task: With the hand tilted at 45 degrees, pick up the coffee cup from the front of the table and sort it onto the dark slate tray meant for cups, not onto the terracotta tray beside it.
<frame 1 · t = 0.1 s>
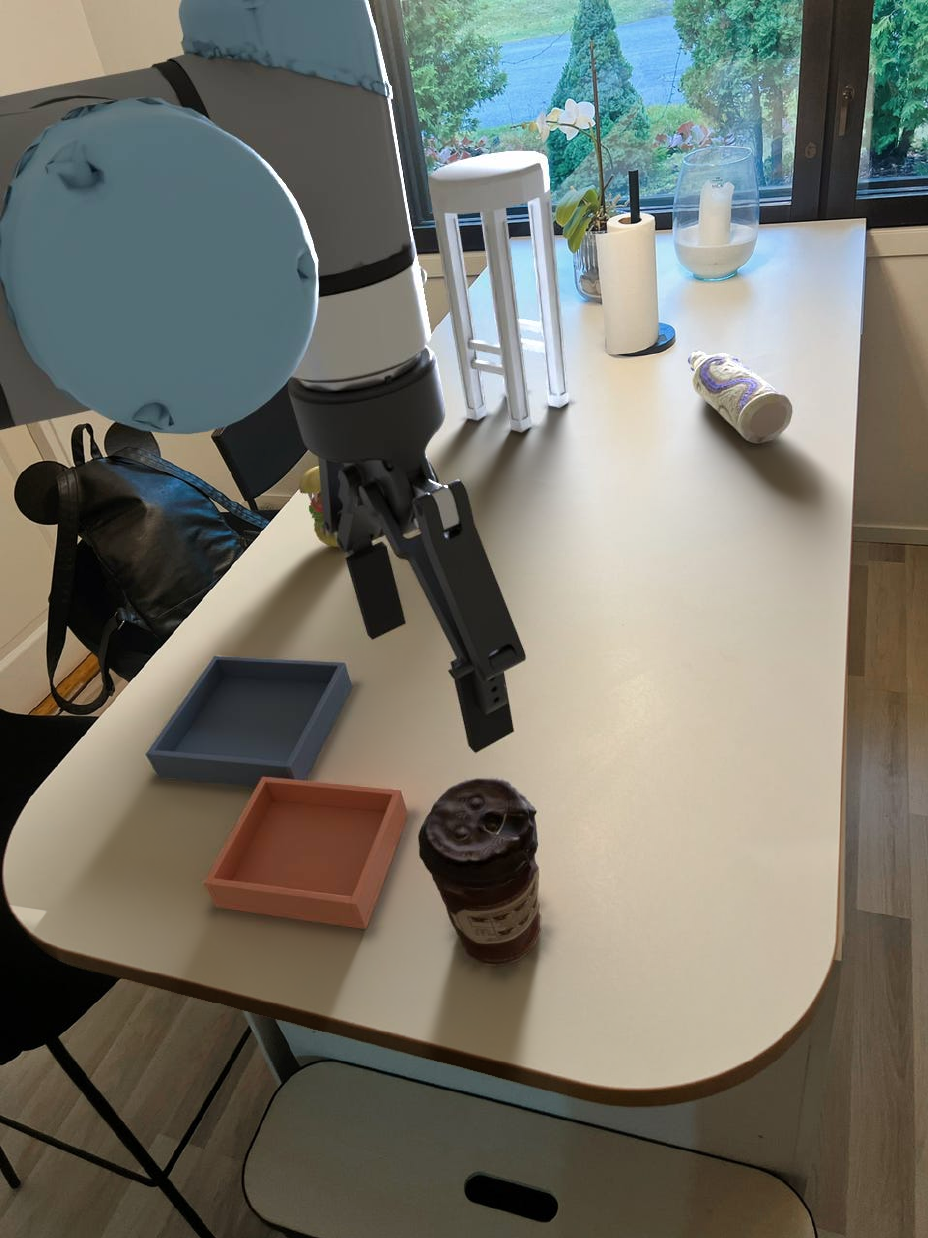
hand: (434, 679, 56), 22 cm above the table, tool pointing down, fingers open, 13 cm apart
stool: (518, 411, 136), on the table
slate tray: (258, 730, 87), on the table
hamburger: (344, 537, 114), on the table
terracotta tray: (315, 859, 73), on the table
decorative bottle: (735, 408, 126), on the table
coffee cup: (501, 931, 65), on the table
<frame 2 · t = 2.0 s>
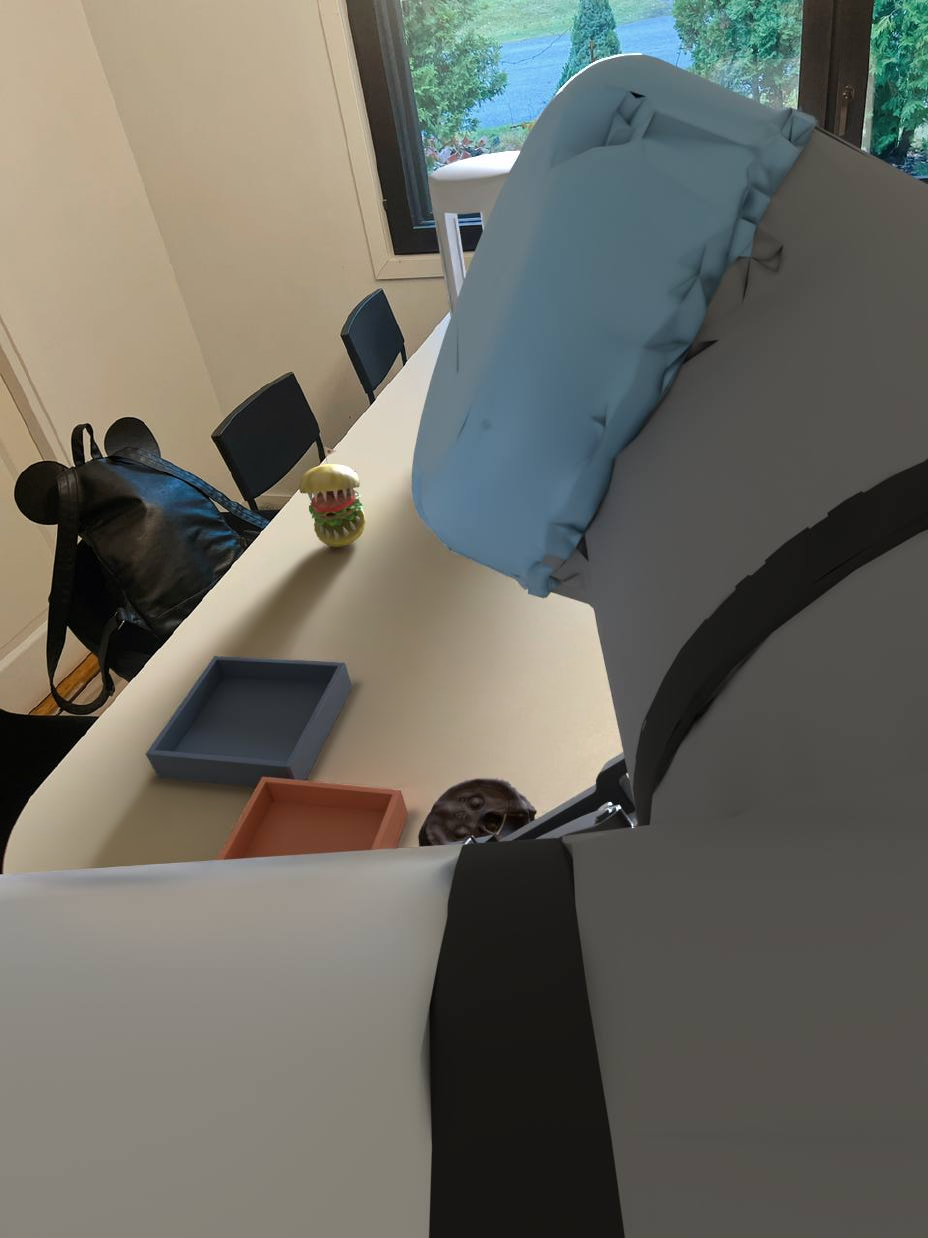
hand: (557, 788, 45), 24 cm above the table, tool tilted 45°, fingers open, 13 cm apart
nothing on the table moved.
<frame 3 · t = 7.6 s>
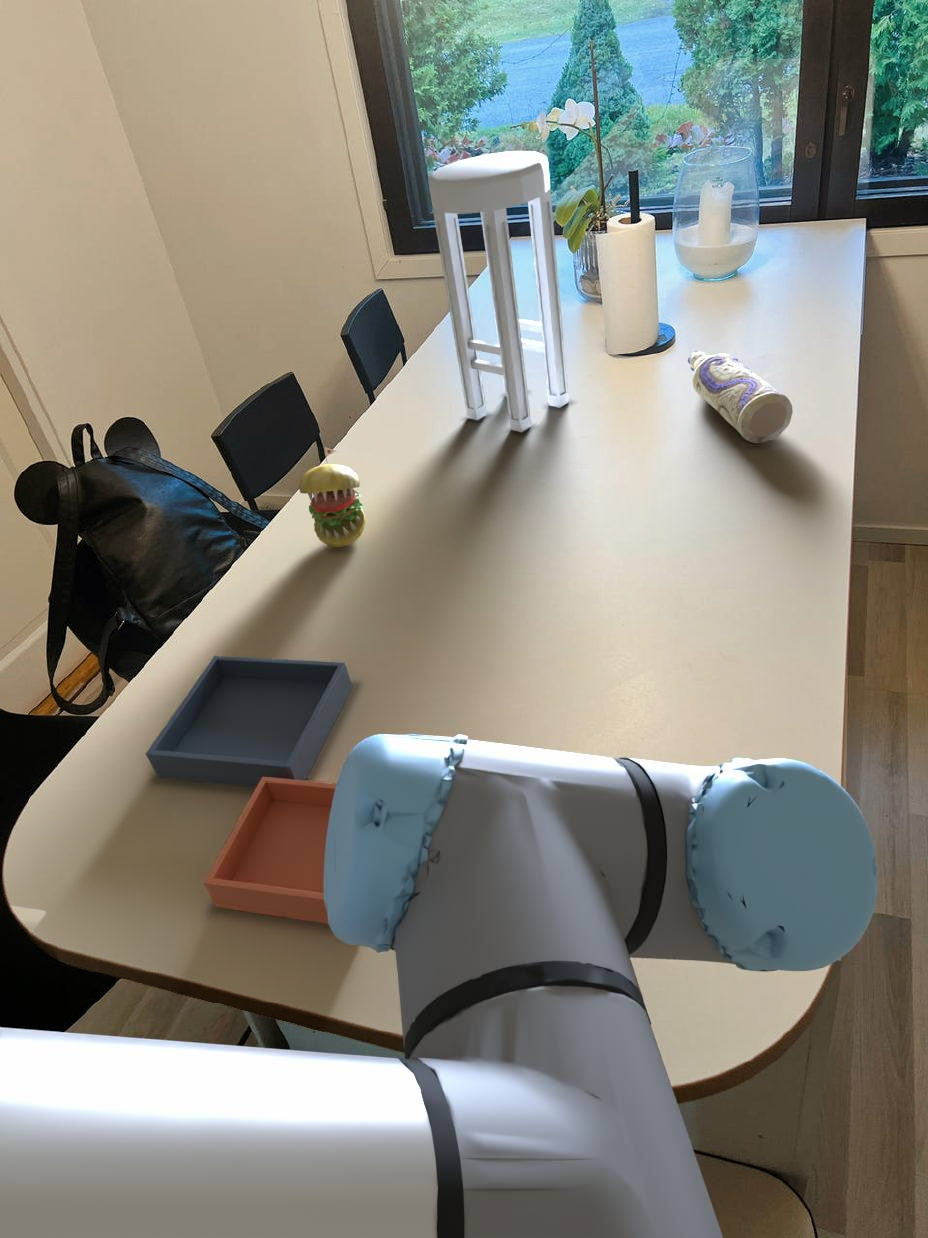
hand: (465, 866, 65), 4 cm above the table, tool tilted 45°, fingers closed on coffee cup, 8 cm apart
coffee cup: (501, 931, 65), on the table, touching gripper
everything else where it was.
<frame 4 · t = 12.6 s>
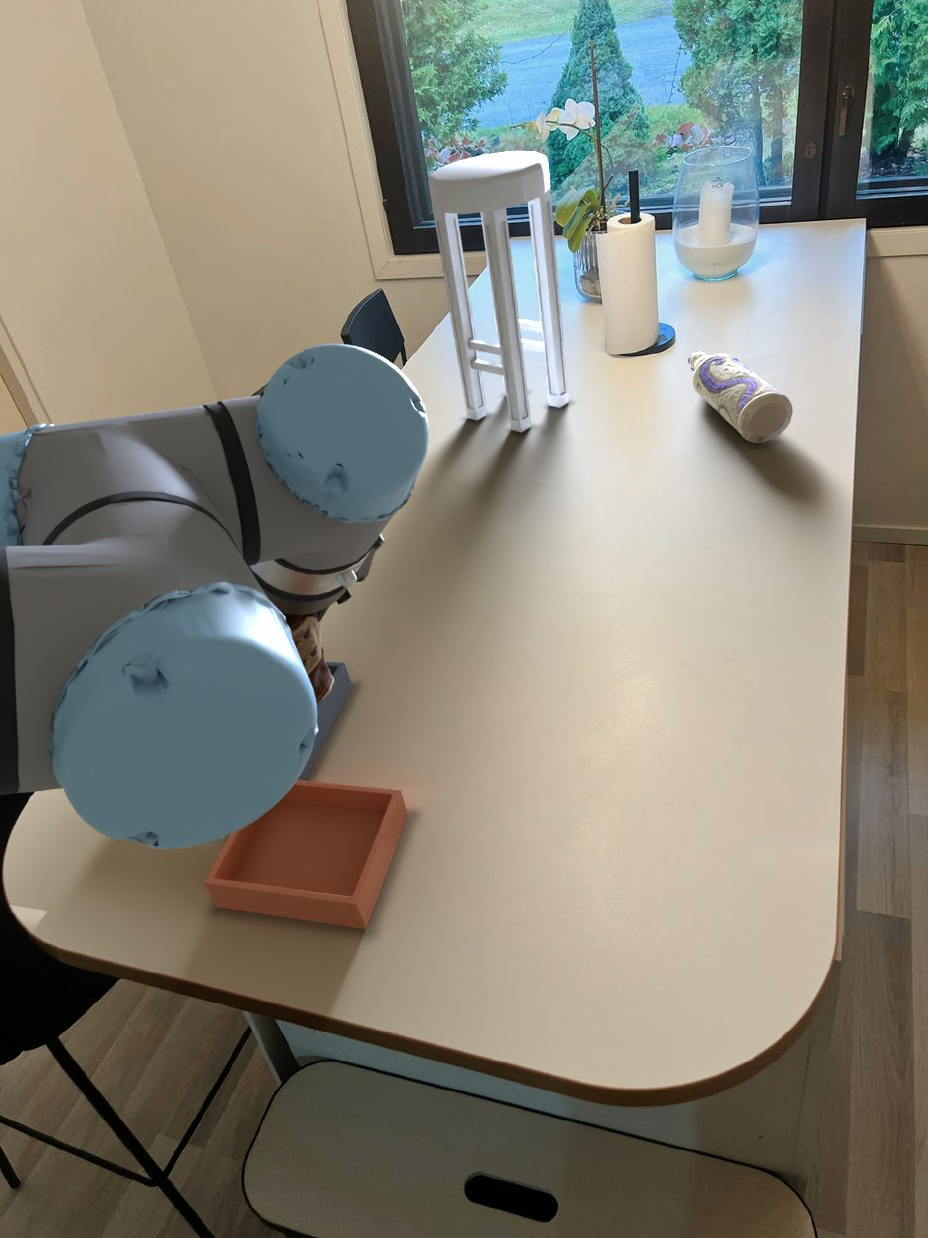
hand: (263, 633, 72), 17 cm above the table, tool tilted 45°, fingers closed on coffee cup, 8 cm apart
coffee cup: (297, 694, 72), point 12 cm above the table, touching gripper
everything else where it was.
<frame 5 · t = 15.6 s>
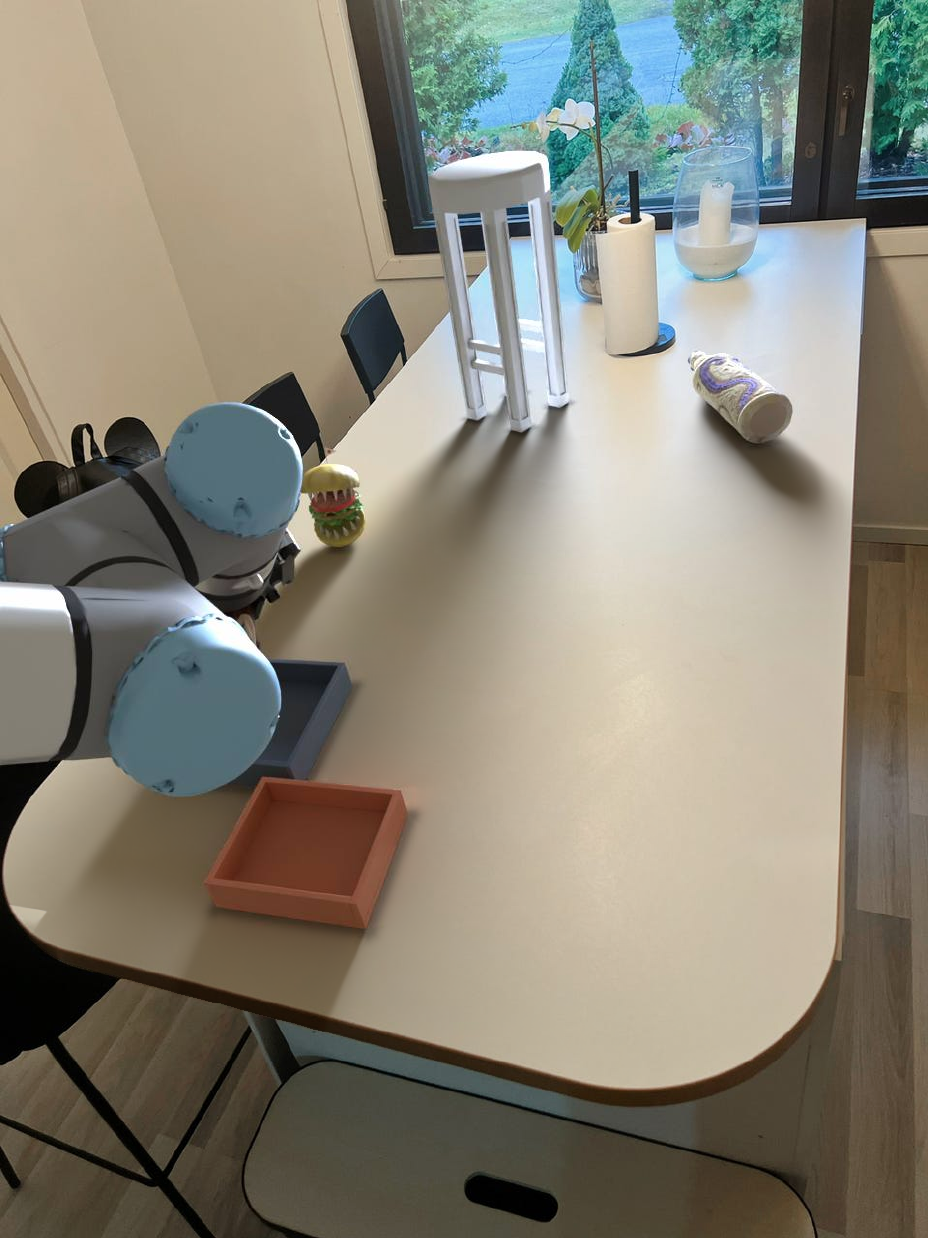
hand: (208, 629, 83), 11 cm above the table, tool tilted 45°, fingers closed on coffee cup, 8 cm apart
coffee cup: (238, 681, 83), point 7 cm above the table, touching gripper
everything else where it was.
when the fingers open (5 cm above the table, at t = 17.7 s): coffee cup stays where it is, resting on slate tray.
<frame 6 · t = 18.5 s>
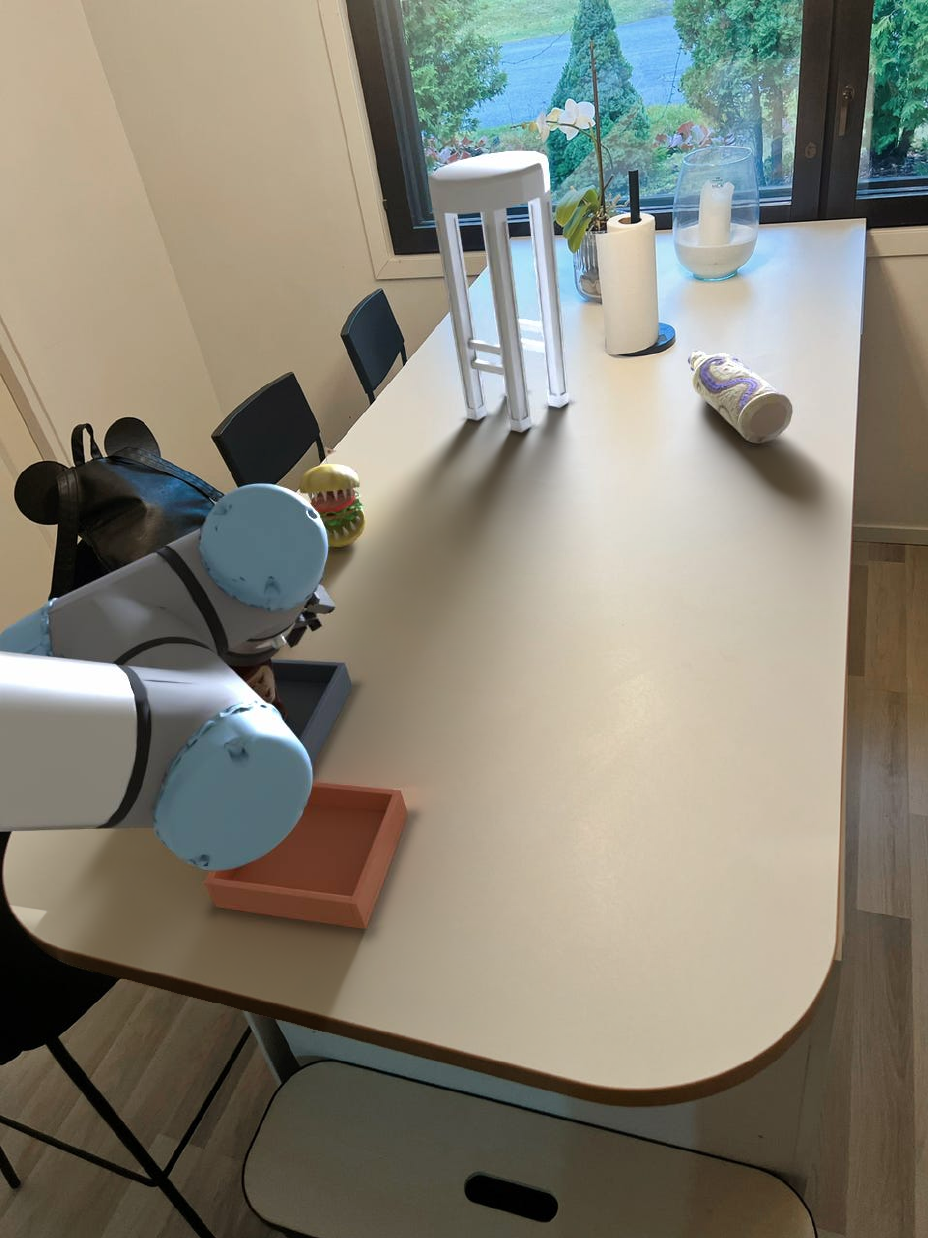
hand: (226, 668, 84), 7 cm above the table, tool tilted 45°, fingers open, 13 cm apart
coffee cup: (257, 726, 87), point 1 cm above the table, touching slate tray
everything else where it was.
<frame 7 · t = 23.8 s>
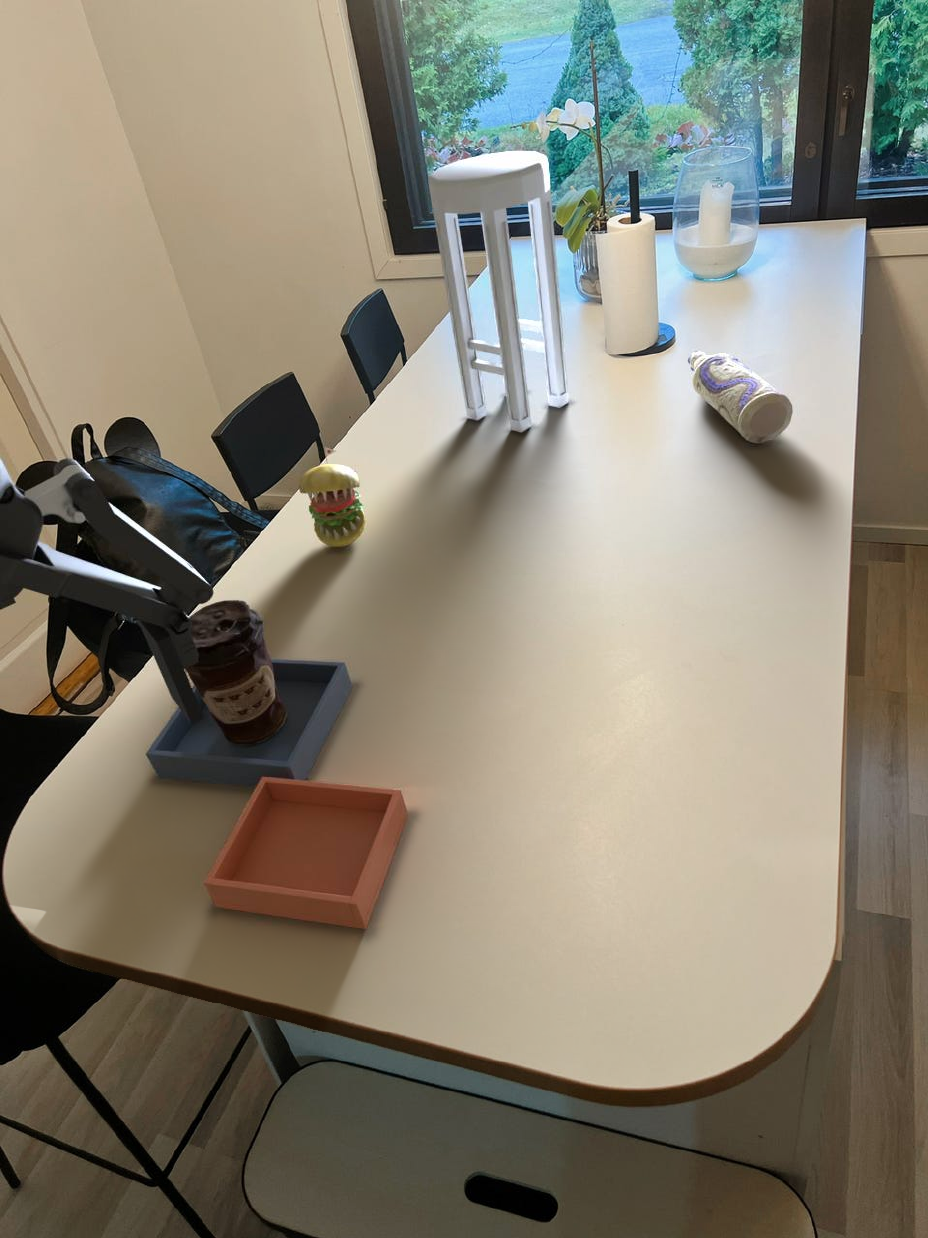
hand: (74, 772, 47), 26 cm above the table, tool pointing down, fingers open, 13 cm apart
nothing on the table moved.
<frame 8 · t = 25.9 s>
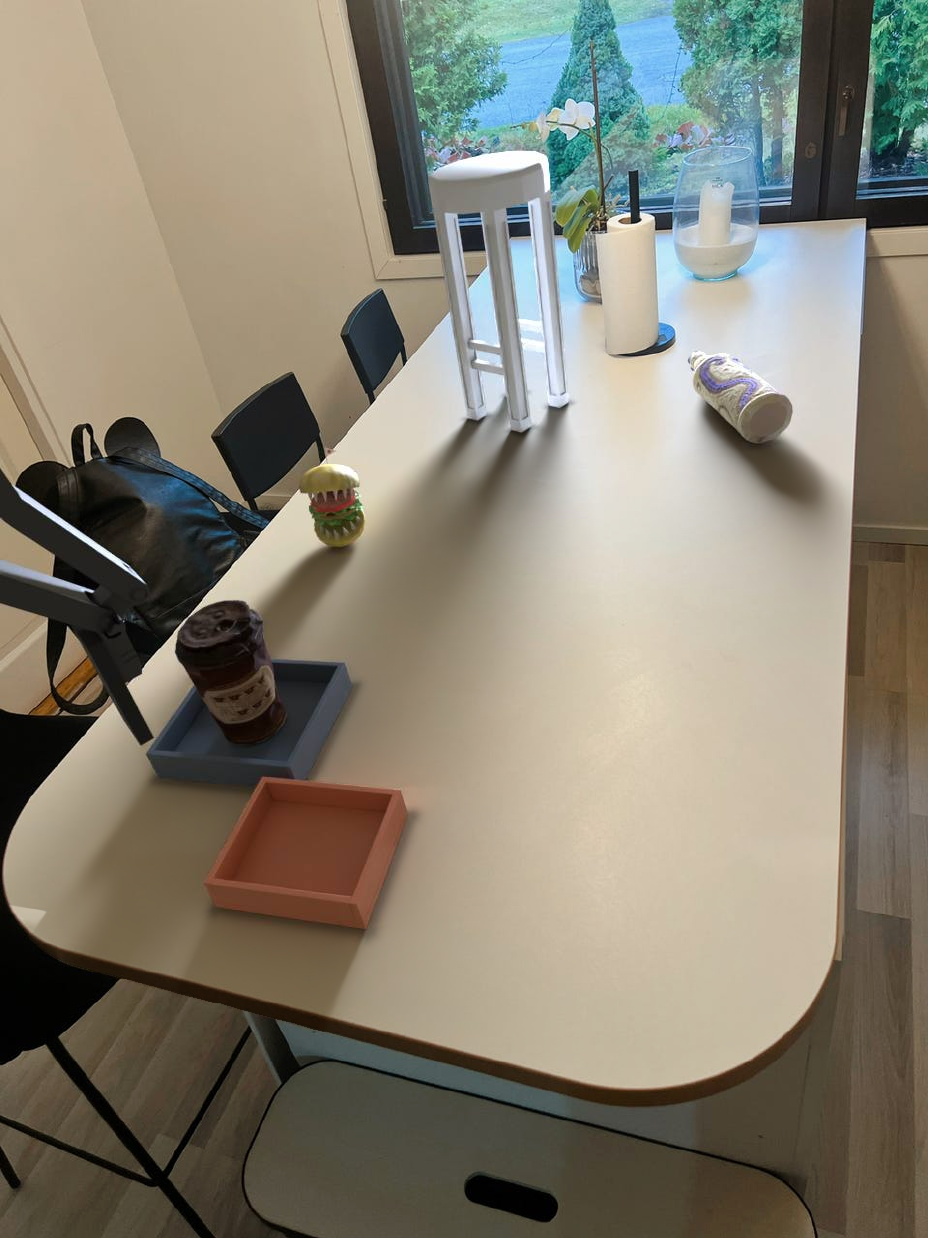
hand: (9, 801, 43), 29 cm above the table, tool pointing down, fingers open, 13 cm apart
nothing on the table moved.
at the end: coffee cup inside the target area in the slate tray (0.1 cm from its centre), point 0.6 cm above the slate tray's base; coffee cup tilted 0°; the gripper is holding nothing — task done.
